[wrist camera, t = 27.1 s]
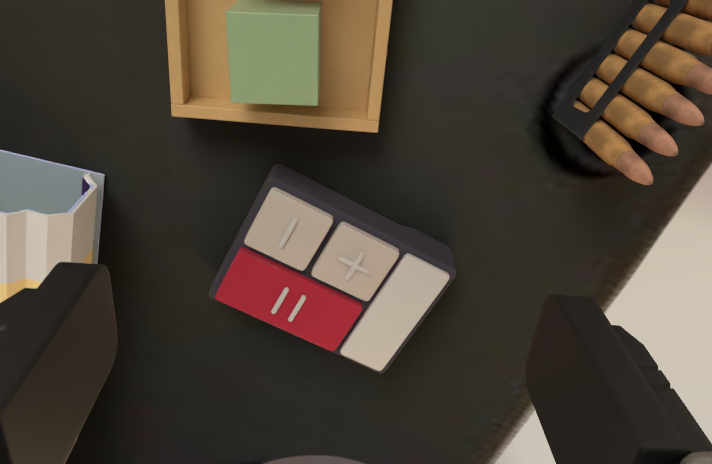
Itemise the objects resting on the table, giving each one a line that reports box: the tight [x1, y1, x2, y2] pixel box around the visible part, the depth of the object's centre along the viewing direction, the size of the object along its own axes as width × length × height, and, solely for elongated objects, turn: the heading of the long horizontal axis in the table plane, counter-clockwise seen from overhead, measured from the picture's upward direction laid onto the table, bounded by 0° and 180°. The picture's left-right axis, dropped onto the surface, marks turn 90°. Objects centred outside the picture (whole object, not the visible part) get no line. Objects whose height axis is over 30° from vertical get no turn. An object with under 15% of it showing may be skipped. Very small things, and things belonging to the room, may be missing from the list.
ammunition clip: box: [552, 0, 712, 185], centre depth 33 cm, size 11×2×12 cm, turn 151°
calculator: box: [209, 163, 457, 373], centre depth 44 cm, size 11×4×15 cm
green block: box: [225, 0, 322, 106], centre depth 35 cm, size 5×5×5 cm
